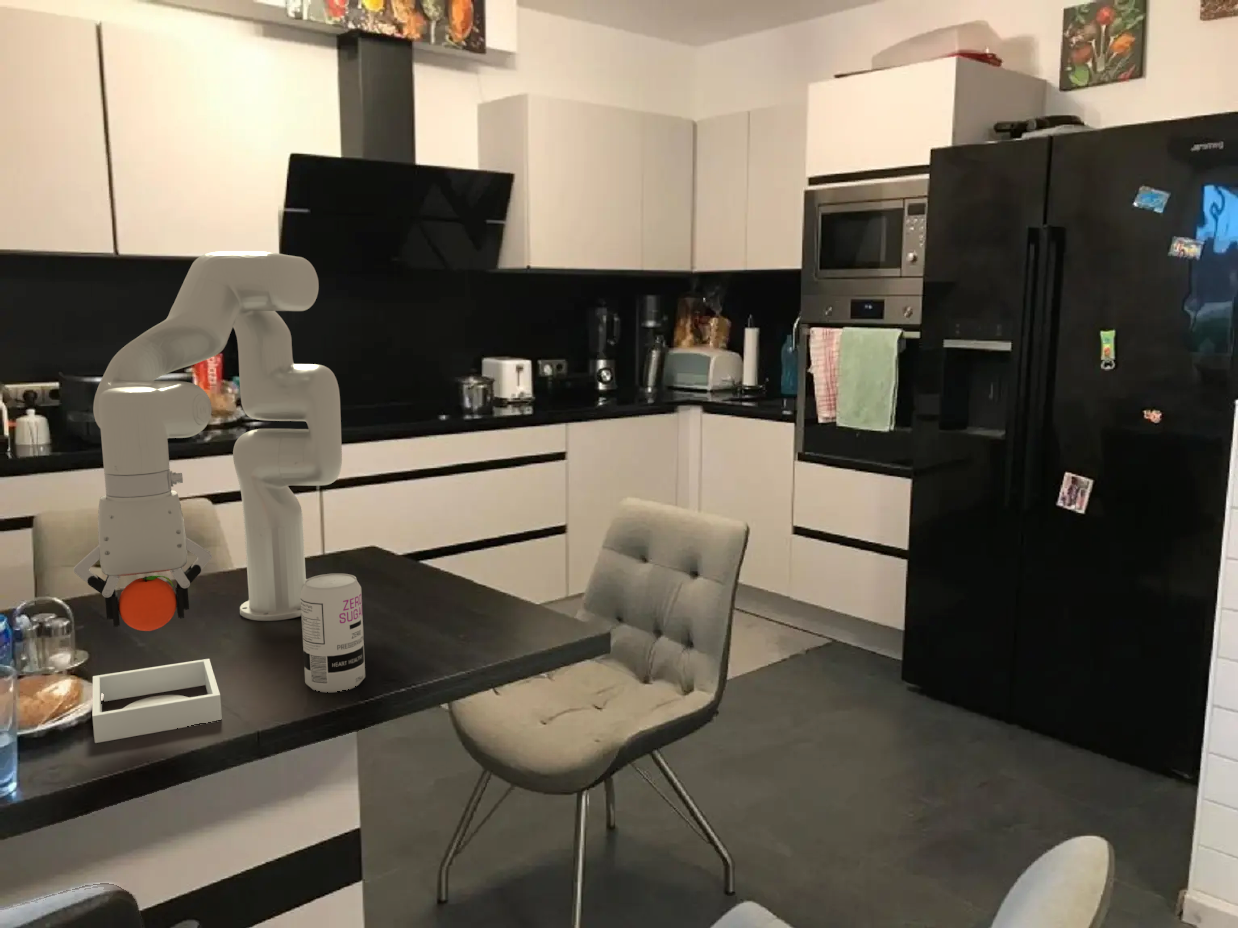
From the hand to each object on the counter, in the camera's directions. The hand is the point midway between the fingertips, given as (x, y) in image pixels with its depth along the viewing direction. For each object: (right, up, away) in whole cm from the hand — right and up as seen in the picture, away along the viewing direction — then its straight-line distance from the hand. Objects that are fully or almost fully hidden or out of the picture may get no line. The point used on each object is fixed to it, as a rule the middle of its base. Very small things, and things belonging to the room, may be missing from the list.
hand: (148, 618), depth 132 cm
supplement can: (+21, -11, +12) cm, 26 cm away
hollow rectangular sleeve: (0, -12, +2) cm, 13 cm away
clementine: (0, -1, +1) cm, 2 cm away
